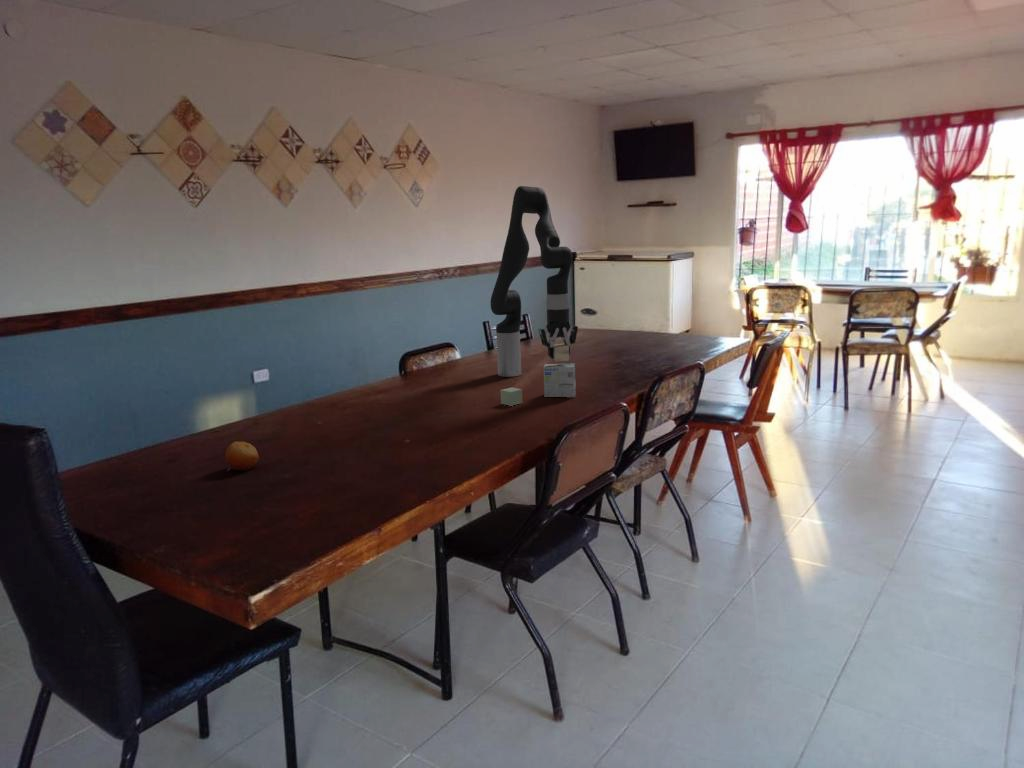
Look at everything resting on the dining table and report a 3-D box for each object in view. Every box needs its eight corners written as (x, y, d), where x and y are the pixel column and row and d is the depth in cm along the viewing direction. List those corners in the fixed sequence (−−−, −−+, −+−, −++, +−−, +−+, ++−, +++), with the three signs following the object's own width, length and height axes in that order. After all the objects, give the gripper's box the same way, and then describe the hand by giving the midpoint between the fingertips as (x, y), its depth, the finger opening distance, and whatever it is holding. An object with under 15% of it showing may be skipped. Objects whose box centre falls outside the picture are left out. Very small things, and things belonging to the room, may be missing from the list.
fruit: (226, 458, 193) (239, 433, 191) (253, 473, 193) (266, 447, 192) (213, 468, 185) (226, 442, 183) (241, 483, 185) (255, 457, 184)
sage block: (501, 404, 246) (500, 389, 245) (512, 401, 249) (511, 387, 248) (510, 407, 242) (510, 392, 241) (522, 404, 246) (521, 389, 244)
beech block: (549, 359, 254) (549, 345, 253) (562, 358, 256) (562, 343, 255) (555, 361, 249) (555, 347, 248) (569, 360, 251) (568, 345, 250)
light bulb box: (575, 393, 258) (575, 362, 256) (575, 397, 251) (574, 366, 249) (545, 393, 259) (544, 363, 257) (543, 398, 252) (543, 367, 250)
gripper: (572, 304, 255) (573, 353, 258) (533, 307, 250) (535, 357, 253) (582, 306, 248) (582, 356, 251) (542, 310, 243) (544, 361, 246)
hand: (559, 357), depth 252 cm, fingers closed on beech block, 5 cm apart
